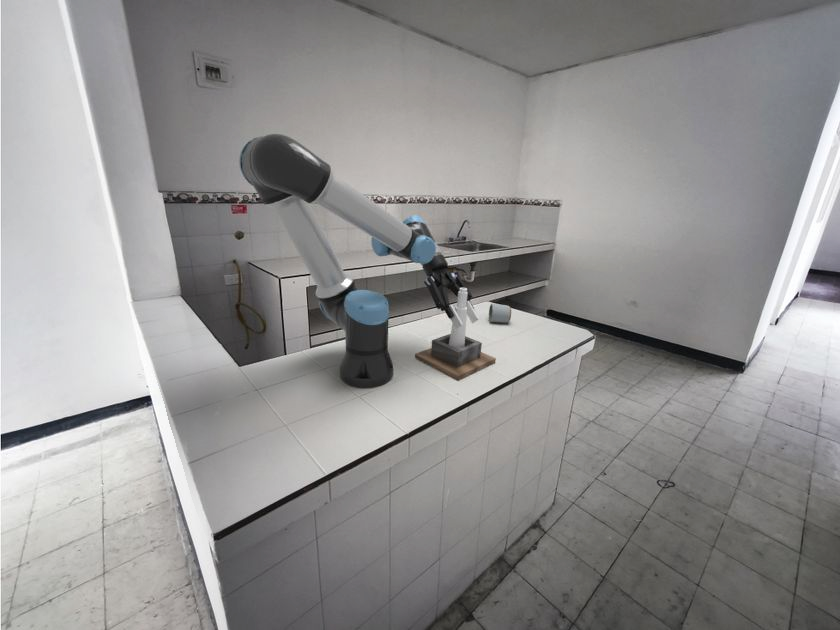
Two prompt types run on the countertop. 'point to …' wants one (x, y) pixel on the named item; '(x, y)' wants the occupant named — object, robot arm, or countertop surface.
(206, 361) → the countertop surface
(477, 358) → the bottle holder
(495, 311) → the ceramic mug
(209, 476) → the countertop surface
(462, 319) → the cosmetic bottle
